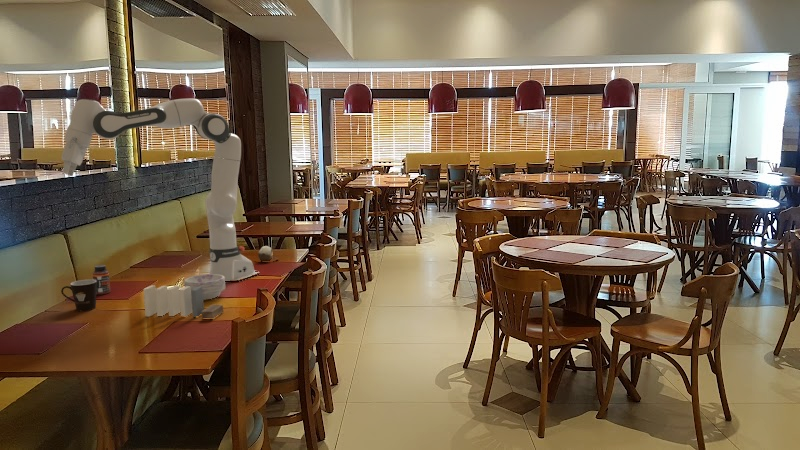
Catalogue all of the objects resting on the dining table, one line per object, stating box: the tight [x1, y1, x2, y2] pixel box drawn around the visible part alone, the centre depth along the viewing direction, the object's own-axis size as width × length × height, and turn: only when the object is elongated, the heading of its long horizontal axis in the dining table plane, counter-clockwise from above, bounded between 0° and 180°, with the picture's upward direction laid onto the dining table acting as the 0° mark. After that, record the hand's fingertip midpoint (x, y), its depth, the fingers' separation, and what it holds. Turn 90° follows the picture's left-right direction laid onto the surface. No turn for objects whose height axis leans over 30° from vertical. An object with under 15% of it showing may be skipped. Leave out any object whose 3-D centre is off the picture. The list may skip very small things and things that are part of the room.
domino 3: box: [167, 285, 181, 317], centre depth 212 cm, size 2×5×10 cm, turn 171°
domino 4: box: [179, 286, 193, 317], centre depth 211 cm, size 2×5×10 cm, turn 171°
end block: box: [201, 304, 224, 319], centre depth 210 cm, size 4×8×3 cm, turn 171°
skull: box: [257, 245, 279, 261], centre depth 300 cm, size 12×10×10 cm
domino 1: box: [142, 285, 157, 317], centre depth 213 cm, size 2×5×10 cm, turn 171°
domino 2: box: [155, 285, 169, 318], centre depth 213 cm, size 2×5×10 cm, turn 171°
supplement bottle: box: [92, 264, 111, 296], centre depth 243 cm, size 6×6×11 cm
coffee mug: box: [61, 279, 97, 312], centre depth 222 cm, size 12×9×10 cm
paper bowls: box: [183, 273, 226, 301], centre depth 234 cm, size 15×15×8 cm
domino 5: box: [191, 287, 205, 318], centre depth 211 cm, size 2×5×10 cm, turn 171°
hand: (67, 174), depth 228 cm, fingers open, 8 cm apart
